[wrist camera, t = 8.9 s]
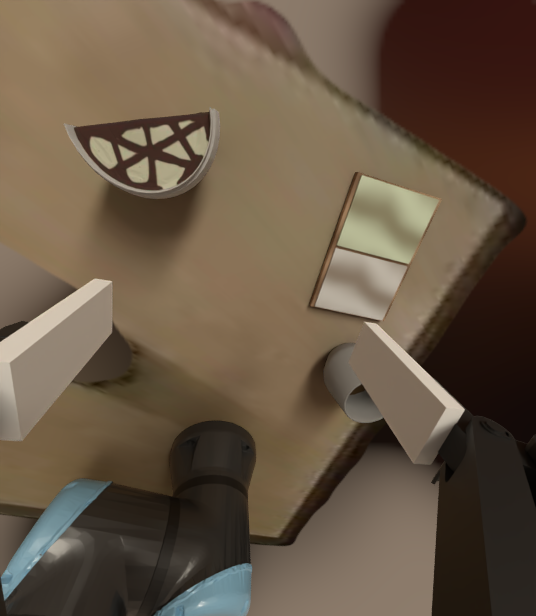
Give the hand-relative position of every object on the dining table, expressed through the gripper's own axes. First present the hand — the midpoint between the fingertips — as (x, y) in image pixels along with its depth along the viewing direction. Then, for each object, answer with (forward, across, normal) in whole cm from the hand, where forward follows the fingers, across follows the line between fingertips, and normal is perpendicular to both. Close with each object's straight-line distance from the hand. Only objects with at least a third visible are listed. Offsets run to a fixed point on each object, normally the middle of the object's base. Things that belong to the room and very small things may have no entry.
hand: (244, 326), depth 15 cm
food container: (+24, +9, -7) cm, 26 cm away
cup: (+24, -20, +15) cm, 35 cm away
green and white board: (+24, -18, -2) cm, 30 cm away
